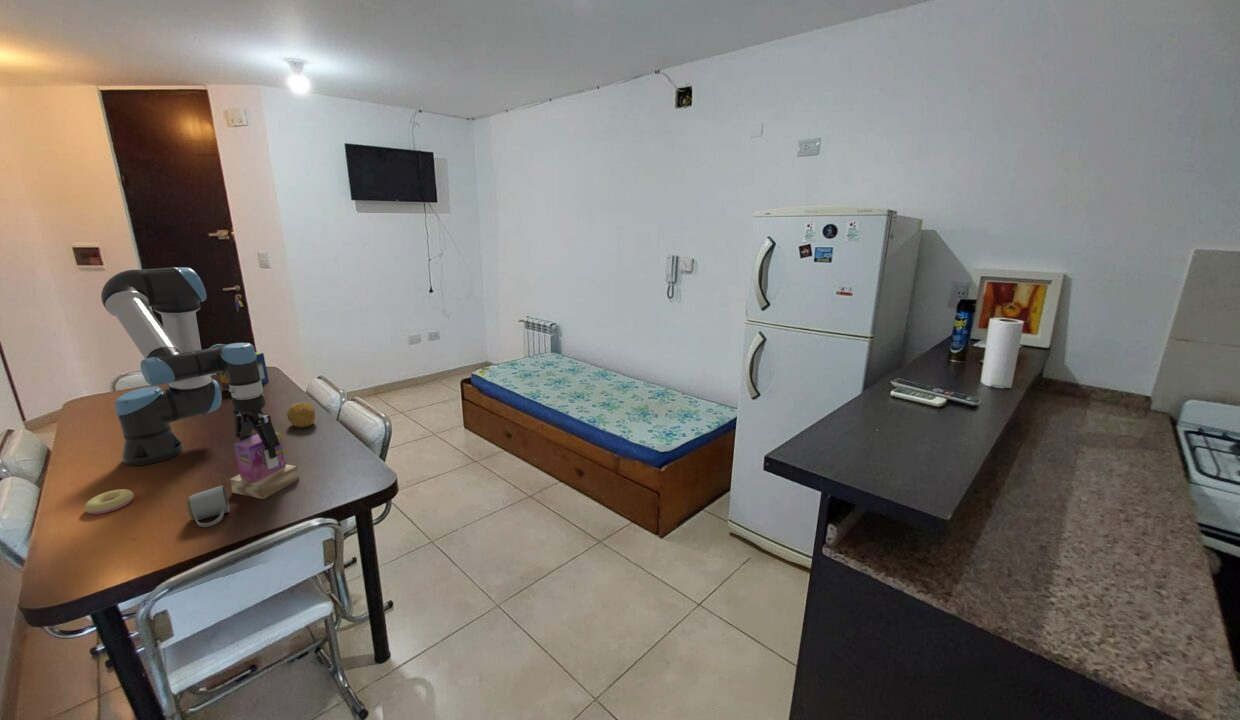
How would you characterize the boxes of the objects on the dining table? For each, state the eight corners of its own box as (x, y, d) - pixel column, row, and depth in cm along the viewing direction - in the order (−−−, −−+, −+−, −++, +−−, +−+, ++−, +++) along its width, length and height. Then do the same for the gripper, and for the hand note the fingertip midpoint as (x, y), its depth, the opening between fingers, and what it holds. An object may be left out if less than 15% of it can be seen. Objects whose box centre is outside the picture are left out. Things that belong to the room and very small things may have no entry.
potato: (287, 411, 182) (315, 403, 188) (281, 403, 192) (307, 396, 198) (294, 434, 185) (321, 425, 191) (288, 424, 195) (314, 416, 200)
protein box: (222, 390, 227) (215, 359, 223) (251, 380, 242) (245, 350, 238) (241, 392, 226) (235, 360, 221) (269, 381, 240) (263, 352, 236)
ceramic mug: (192, 513, 135) (185, 490, 132) (229, 503, 140) (223, 480, 137) (191, 533, 127) (184, 508, 125) (230, 521, 132) (224, 497, 130)
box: (255, 482, 143) (248, 446, 139) (240, 479, 144) (233, 443, 141) (286, 466, 152) (281, 432, 149) (272, 462, 154) (266, 429, 150)
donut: (142, 505, 142) (114, 498, 143) (143, 490, 142) (114, 483, 142) (104, 520, 132) (73, 513, 133) (105, 504, 132) (74, 497, 132)
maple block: (232, 493, 146) (229, 479, 144) (270, 474, 157) (267, 460, 155) (263, 500, 143) (260, 485, 141) (299, 480, 154) (296, 466, 152)
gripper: (210, 393, 142) (226, 460, 148) (257, 406, 133) (272, 477, 140) (238, 385, 149) (252, 450, 155) (285, 397, 140) (298, 465, 146)
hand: (262, 463), depth 147 cm, fingers open, 10 cm apart
